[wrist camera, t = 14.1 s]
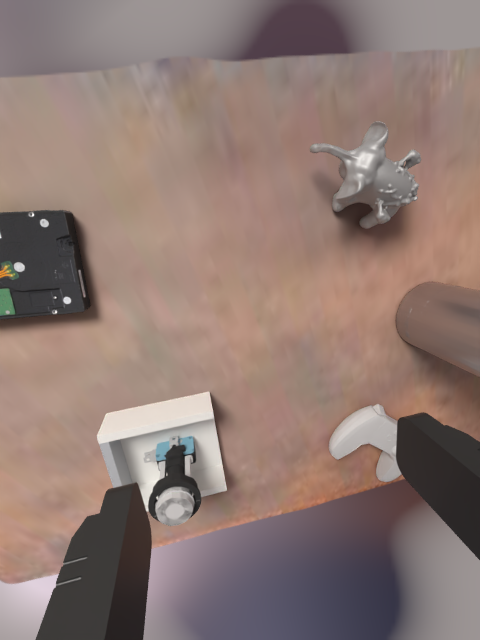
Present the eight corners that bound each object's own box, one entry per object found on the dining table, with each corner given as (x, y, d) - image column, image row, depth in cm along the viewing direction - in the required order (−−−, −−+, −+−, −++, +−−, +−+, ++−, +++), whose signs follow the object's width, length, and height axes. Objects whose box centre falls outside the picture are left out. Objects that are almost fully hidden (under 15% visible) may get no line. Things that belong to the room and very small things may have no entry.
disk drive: (73, 209, 31) (-94, 218, 29) (63, 207, 28) (-122, 216, 26) (93, 306, 34) (-56, 321, 31) (86, 312, 31) (-78, 329, 29)
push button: (149, 468, 39) (139, 542, 30) (140, 434, 38) (127, 501, 28) (199, 456, 40) (205, 524, 31) (193, 423, 39) (197, 484, 29)
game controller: (325, 459, 42) (376, 413, 39) (316, 434, 46) (361, 391, 43) (392, 491, 47) (443, 452, 43) (379, 466, 51) (424, 429, 47)
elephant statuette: (379, 230, 38) (427, 230, 30) (290, 222, 35) (318, 219, 28) (395, 149, 35) (451, 127, 28) (300, 133, 33) (334, 105, 25)
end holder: (209, 391, 39) (212, 410, 35) (222, 464, 43) (227, 490, 38) (106, 413, 37) (96, 436, 33) (129, 488, 41) (123, 517, 37)
